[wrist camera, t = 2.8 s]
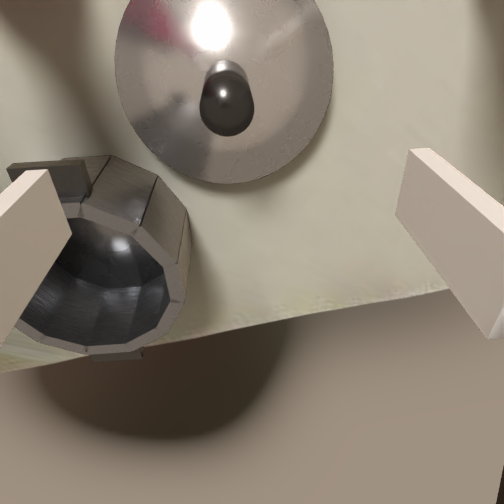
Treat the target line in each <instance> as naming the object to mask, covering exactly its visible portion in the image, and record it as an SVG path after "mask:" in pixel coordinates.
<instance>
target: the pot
mask: <svg viewBox="0 0 504 504" xmlns="http://www.w3.org/2000/svg"><path fill="white" fill-rule="evenodd" d="M43 169H48V171H49V174H50V176H51V179H52V182H53V184H54V187H55V190H56V192H57V195H58V198H59V200H60V203H61V206H62V208H63V211H64V214H65V216H66V219H67V222H68V224H69V227H70V230H71V232H72V235H71V237H70V238H69V240H68V241H67V243H66V244H65V246H64V248H63V249H62V251H61V252H60V254H59V255H58V257H57V259H56V260H55V262H54V263H53V265H52V267H51V268H50V270H49V271H48V273H47V274H46V276H45V278H44V279H43V281H42V282H41V284H40V286H39V287H38V289H37V290H36V292H35V293H34V295H33V297H32V298H31V300H30V301H29V303H28V305H27V306H26V308H25V309H24V311H23V312H22V314H21V316H20V317H19V319H18V320H17V322H16V323H15V325H14V327H16V328H17V329H19V330H20V331H22V332H23V333H25V334H26V335H28V336H29V337H31V338H32V339H34V340H35V341H37V342H39V341H40V343H42V344H46V345H50V346H54V347H58V348H62V349H66V350H69V351H73V352H77V353H81V354H85V355H86V353H87V355H90V356H91V358H92V361H93V362H106V361H120V360H134V359H143V355H144V349H143V346H144V345H146V344H148V343H150V342H152V341H154V340H156V339H158V338H160V337H162V336H164V335H165V334H167V333H168V332H169V330H170V328H171V326H172V324H173V323H174V321H175V319H176V317H177V316H178V314H179V312H180V310H181V309H182V307H183V305H184V303H185V297H186V289H187V281H188V273H189V265H190V257H191V249H192V240H191V234H190V227H189V221H188V215H187V209H186V208H185V206H184V205H183V204H182V203H181V202H180V201H179V199H178V198H177V197H176V196H175V195H174V194H173V192H172V191H171V190H170V189H169V188H168V186H167V185H166V184H165V183H164V182H163V181H162V179H161V178H160V177H159V176H157V175H156V174H154V173H152V172H149V171H147V170H145V169H142V168H140V167H138V166H135V165H133V164H131V163H128V162H126V161H124V160H121V159H119V158H117V157H114V156H112V157H111V155H110V156H92V157H75V158H64V159H62V160H60V161H43V162H25V163H13V164H11V165H10V166H9V167H8V168H7V172H8V174H9V176H10V178H11V181H12V183H13V182H14V181H15V180H16V179H17V178H18V177H19V176H21V175H22V174H23V173H24V172H25V171H26V170H43Z"/></svg>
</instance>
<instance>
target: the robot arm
mask: <svg viewBox="0 0 504 504" xmlns="http://www.w3.org/2000/svg"><path fill="white" fill-rule="evenodd" d="M395 215H396V217H397V218H398V220H399V221H400V222H401V224H402V225H403V226H404V228H405V229H406V230H407V232H408V233H409V234H410V236H411V237H412V238H413V240H414V241H415V242H416V244H417V245H418V246H419V248H420V249H421V251H422V252H423V253H424V255H425V256H426V257H427V259H428V260H429V261H430V263H431V264H432V265H433V267H434V268H435V269H436V271H437V272H438V273H439V275H440V276H441V278H442V279H443V280H444V282H445V283H446V284H447V286H448V287H449V288H450V290H451V291H452V292H453V294H454V295H455V296H456V298H457V299H458V300H459V302H460V303H461V304H462V306H463V307H464V309H465V310H466V311H467V312H468V314H469V315H470V317H471V318H472V319H473V321H474V322H475V323H476V325H477V326H478V327H479V329H480V330H481V331H482V333H483V334H484V335H485V337H486V338H487V339H497V338H504V206H502V205H501V204H500V203H499V202H497V201H496V200H495V199H493V198H492V197H491V196H490V195H488V194H487V193H486V192H485V191H483V190H482V189H481V188H480V187H478V186H477V185H476V184H474V183H473V182H472V181H471V180H469V179H468V178H467V177H466V176H464V175H463V174H462V173H461V172H459V171H458V170H457V169H455V168H454V167H453V166H452V165H450V164H449V163H448V162H447V161H445V160H444V159H443V158H441V157H440V156H439V155H438V154H436V153H435V152H434V151H433V150H431V149H430V148H423V149H409V152H408V156H407V161H406V166H405V170H404V175H403V180H402V184H401V189H400V194H399V198H398V203H397V208H396V212H395ZM71 235H72V232H71V230H70V227H69V224H68V222H67V219H66V216H65V214H64V211H63V208H62V206H61V203H60V200H59V198H58V195H57V192H56V190H55V187H54V184H53V182H52V179H51V176H50V174H49V171H48V169H43V170H26V171H25V172H24V173H23V174H22V175H21V176H19V177H18V178H17V179H16V180H15V181H14V182H13V183H12V184H11V185H10V186H8V187H7V188H6V189H5V190H4V191H3V192H2V193H1V194H0V347H1V346H2V344H3V342H4V341H5V339H6V338H7V336H8V335H9V333H10V331H11V330H12V328H13V327H14V325H15V323H16V322H17V320H18V319H19V317H20V316H21V314H22V312H23V311H24V309H25V308H26V306H27V305H28V303H29V301H30V300H31V298H32V297H33V295H34V293H35V292H36V290H37V289H38V287H39V286H40V284H41V282H42V281H43V279H44V278H45V276H46V274H47V273H48V271H49V270H50V268H51V267H52V265H53V263H54V262H55V260H56V259H57V257H58V255H59V254H60V252H61V251H62V249H63V248H64V246H65V244H66V243H67V241H68V240H69V238H70V237H71ZM496 504H504V467H503V472H502V477H501V482H500V487H499V492H498V497H497V502H496Z"/></svg>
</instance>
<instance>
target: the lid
mask: <svg viewBox="0 0 504 504" xmlns="http://www.w3.org/2000/svg"><path fill="white" fill-rule="evenodd" d="M115 76H116V82H117V88H118V92H119V96H120V99H121V102H122V106H123V108H124V110H125V113H126V115H127V117H128V119H129V121H130V123H131V125H132V126H133V128H134V130H135V132H136V133H137V134H138V136H139V137H140V138H141V140H142V141H143V142H144V144H145V145H146V146H147V147H148V148H149V149H150V150H151V151H152V152H153V153H154V154H155V155H156V156H157V157H159V158H160V159H161V160H162V161H163V162H165V163H166V164H168V165H169V166H171V167H172V168H174V169H175V170H177V171H179V172H181V173H183V174H185V175H188V176H190V177H193V178H196V179H199V180H203V181H207V182H213V183H221V184H234V183H242V182H248V181H252V180H256V179H259V178H262V177H264V176H267V175H269V174H271V173H273V172H275V171H277V170H279V169H280V168H282V167H283V166H285V165H286V164H288V163H289V162H290V161H292V160H293V159H294V158H295V157H296V156H297V155H298V154H299V153H300V152H301V151H302V150H303V149H304V148H305V147H306V146H307V144H308V143H309V142H310V140H311V139H312V137H313V136H314V135H315V133H316V131H317V129H318V128H319V126H320V124H321V122H322V120H323V117H324V115H325V112H326V110H327V107H328V103H329V99H330V96H331V90H332V83H333V54H332V46H331V42H330V37H329V32H328V30H327V27H326V24H325V21H324V18H323V16H322V14H321V12H320V10H319V8H318V6H317V4H316V2H315V1H314V0H130V2H129V4H128V6H127V8H126V10H125V12H124V15H123V18H122V20H121V23H120V26H119V30H118V35H117V40H116V48H115Z"/></svg>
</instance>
